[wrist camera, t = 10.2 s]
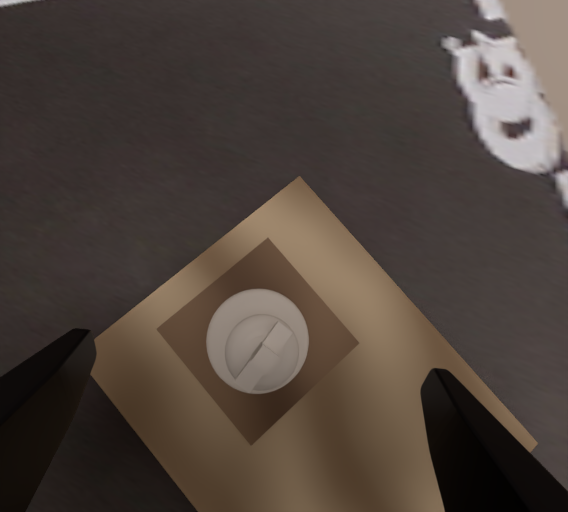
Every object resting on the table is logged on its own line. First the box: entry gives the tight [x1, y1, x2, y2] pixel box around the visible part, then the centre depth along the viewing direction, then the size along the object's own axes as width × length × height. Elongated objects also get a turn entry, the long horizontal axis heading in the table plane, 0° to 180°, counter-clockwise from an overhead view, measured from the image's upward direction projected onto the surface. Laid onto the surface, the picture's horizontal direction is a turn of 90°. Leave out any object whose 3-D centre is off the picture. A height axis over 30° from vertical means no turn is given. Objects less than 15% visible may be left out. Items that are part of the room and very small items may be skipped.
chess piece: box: [206, 289, 309, 394], centre depth 13 cm, size 5×5×10 cm
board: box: [90, 176, 538, 512], centre depth 18 cm, size 14×18×1 cm
